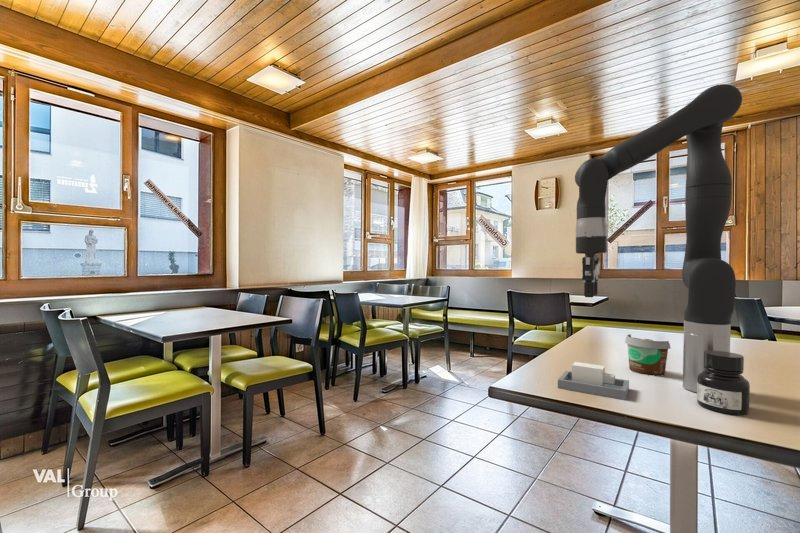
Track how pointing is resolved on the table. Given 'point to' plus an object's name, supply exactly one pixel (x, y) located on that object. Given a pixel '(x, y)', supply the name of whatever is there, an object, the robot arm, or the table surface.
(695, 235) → the robot arm
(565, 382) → the tray
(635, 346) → the food container
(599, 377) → the plug
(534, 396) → the table surface
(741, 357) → the ink bottle
